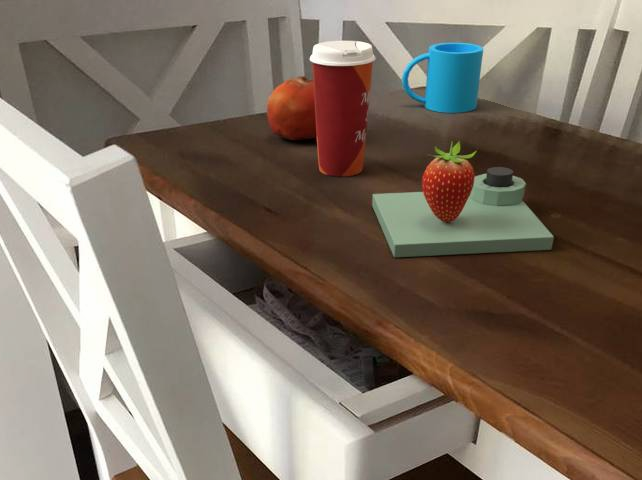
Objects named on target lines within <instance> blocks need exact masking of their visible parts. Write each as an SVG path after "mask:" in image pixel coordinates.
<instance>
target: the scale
mask: <svg viewBox="0 0 642 480" xmlns="http://www.w3.org/2000/svg"><path fill="white" fill-rule="evenodd" d="M486 175H487V173H482V174H479V175H474V176H475V178H474V185H473V188H472V191H471V193H470V196H469V198H468V200H467V202H466V204H465V206H464V208H463V210H462V212H461V213H460V215H459V216H458V217H457V218H456V219H455V220H454V221H452V222H443V221H441V220H440V219H438V218H437V217H436V216H435V215H434V213H433V212H432V210H431V209H430V207H429V205H428V203H427V201H426V199H425V196H424V194H423V191H411V192H409V191H408V192H389V193H385V192H384V193H373V194H372V202H371V207H372V209H373V211H374V213H375V216H376V218H377V221H378V223H379V225H380V228H381V230H382V233H383V234H384V238H385V240H386V242H387V244H388V246H389V249H390V251H391V254H392V256H393V258H415V257H431V256H433V257H434V256H452V255H454V256H455V255H474V254H475V255H476V254H494V253H495V254H497V253H512V252H513V253H514V252H533V251H535V252H536V251H551V250H552V248H553V243H554V239H555V237H554V235H553V234H552V233H551V232H550V231H549V229H548V228H547V227H546V226H545V225H544V224H543V223H542V221H541V220H540V219H539V217H538V216H537V215H536V214H535V213H534V212H533V211H532V209H530V208H529V206H528V205H527V204H526V203H525V202H524V200H523V199H524V198H525V197H524V196H525V193H526V187H527V182H525V180H524V179H523V178H521V177H519V176H515V175H513V178H512V184H511V186H509V187H500V188H499V187H491V186H489V185H486V184H485V182H486Z"/></svg>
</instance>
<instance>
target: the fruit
mask: <svg viewBox="0 0 642 480" xmlns="http://www.w3.org/2000/svg"><path fill="white" fill-rule="evenodd" d="M450 143H451V144H450V150H449V152H445V151H443V150H441V149H439V148H438V147H437V146H436V145H435V146H434V151H435V152H436V153H437V154H438V155H433V154H427V156H431V157H434V159H433V160H431V162H430V163H429V164H428V165H427V166H426V168H425V170H424V172H423V175H422V181H421V189H422V192H423V194H424V196H425V199H426V201H427V203H428V205H429V207H430V209H431V210H432V212H433V213H434V215H435V216H436V217H437V218H438V219H440V220H441V221H443V222H452V221H454V220H455V219H456V218H457V217H458V216H459V215H460V213H461V212H462V210H463V208H464V206H465V204H466V202H467V200H468V198H469V196H470V193H471V191H472V188H473V185H474V178H475V176H476V175H475V170H474V168H473V165H472V164H471V162H470V161H469V160H468V159H472V158H473V157H474V156H475V155H476V153H477V150H475V151H474V152H472V153H469V154H464V155H461V154H460V155H458V154H459V153H460V152H461V141H460V140H458V142H457V143H456V144H453V143H454V142H453V140H452V141H451V142H450ZM453 145H454V146H453Z"/></svg>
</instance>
